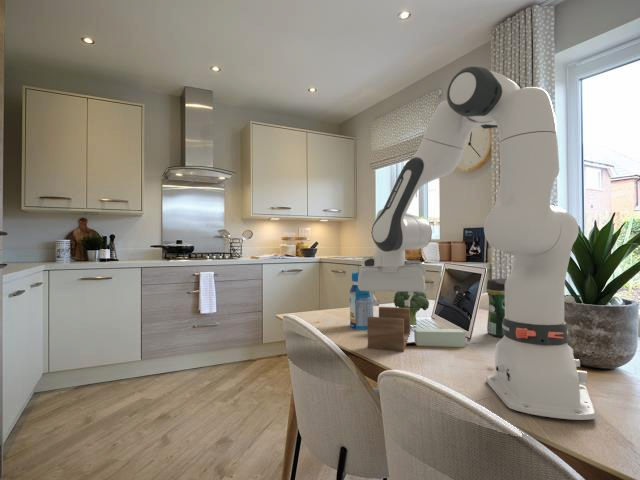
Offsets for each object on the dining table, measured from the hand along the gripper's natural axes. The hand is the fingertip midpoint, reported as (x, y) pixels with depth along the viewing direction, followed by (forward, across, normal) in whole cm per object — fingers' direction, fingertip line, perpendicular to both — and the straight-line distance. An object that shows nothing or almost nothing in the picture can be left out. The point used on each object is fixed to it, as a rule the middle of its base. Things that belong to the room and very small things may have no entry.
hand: (391, 306), depth 115 cm
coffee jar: (+12, -33, -21) cm, 41 cm away
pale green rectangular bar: (+12, -14, -2) cm, 18 cm away
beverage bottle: (+11, +13, -14) cm, 22 cm away
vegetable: (+11, -3, -22) cm, 25 cm away
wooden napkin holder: (+11, +1, 0) cm, 11 cm away
